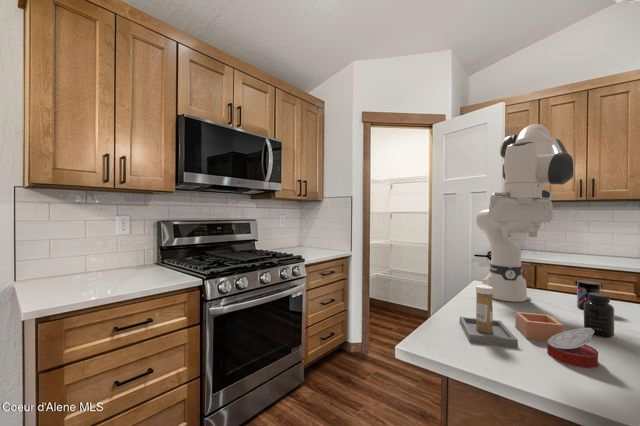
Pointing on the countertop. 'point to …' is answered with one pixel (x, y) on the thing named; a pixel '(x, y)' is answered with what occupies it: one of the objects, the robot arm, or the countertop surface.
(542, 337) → the terracotta holder
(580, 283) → the supplement container
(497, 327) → the charcoal tray
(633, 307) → the countertop surface
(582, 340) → the canned food
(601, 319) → the supplement bottle
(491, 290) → the sprinkles bottle
